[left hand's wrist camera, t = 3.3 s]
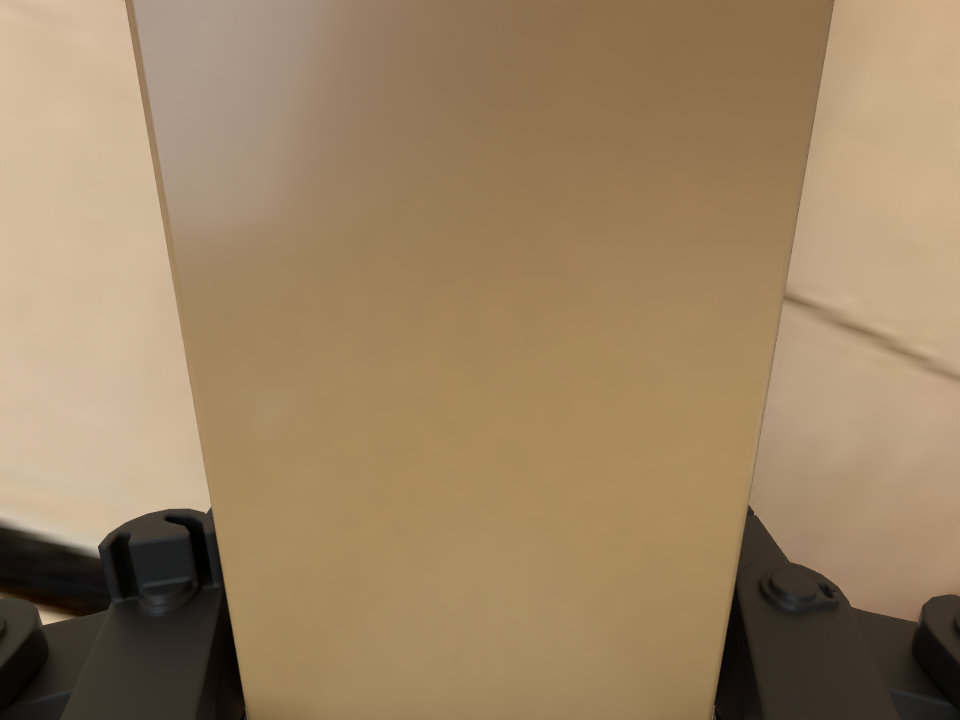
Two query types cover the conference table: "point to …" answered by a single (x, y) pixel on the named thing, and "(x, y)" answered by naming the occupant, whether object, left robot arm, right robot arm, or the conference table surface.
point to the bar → (479, 334)
